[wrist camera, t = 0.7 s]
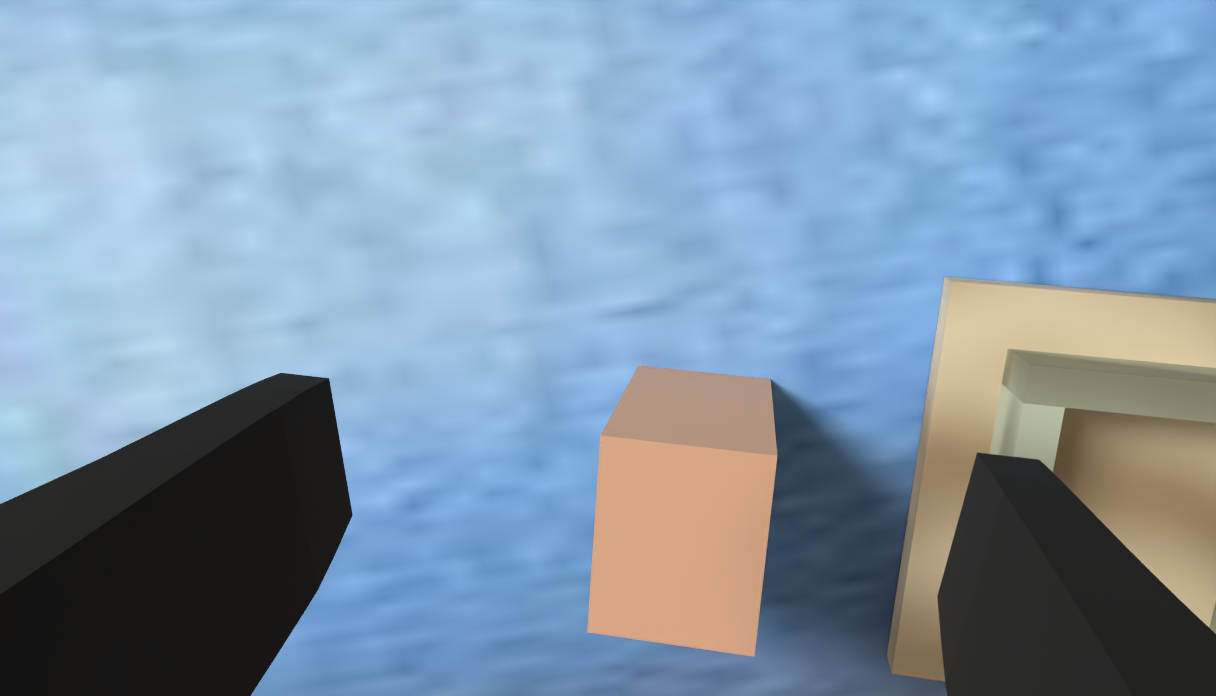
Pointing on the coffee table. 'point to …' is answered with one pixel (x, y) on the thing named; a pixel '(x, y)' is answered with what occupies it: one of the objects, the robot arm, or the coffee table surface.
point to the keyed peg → (684, 510)
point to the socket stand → (1067, 432)
